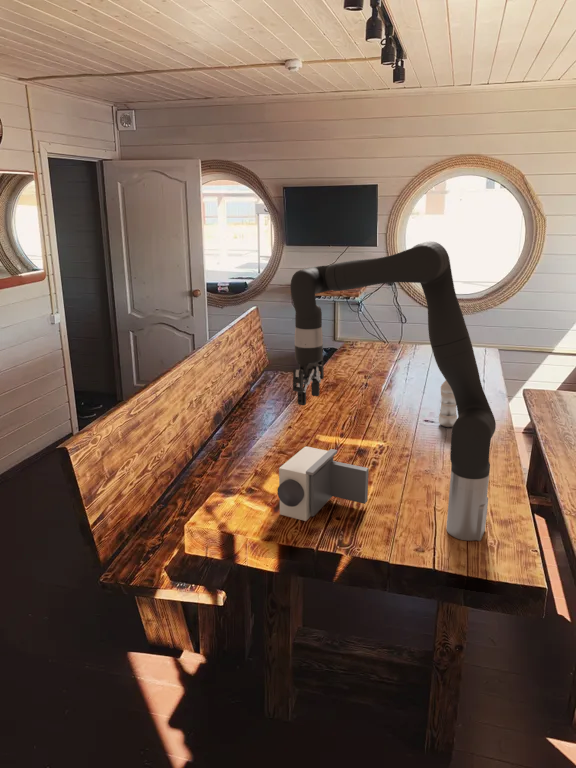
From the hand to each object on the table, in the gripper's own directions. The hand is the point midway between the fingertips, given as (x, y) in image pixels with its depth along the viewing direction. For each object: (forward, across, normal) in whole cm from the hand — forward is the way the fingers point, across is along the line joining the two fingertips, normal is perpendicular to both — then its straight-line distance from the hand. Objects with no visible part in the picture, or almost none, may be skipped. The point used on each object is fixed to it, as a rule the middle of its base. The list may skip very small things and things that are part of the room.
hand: (308, 400), depth 169 cm
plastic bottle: (+29, +71, -22) cm, 80 cm away
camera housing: (+29, -7, -3) cm, 30 cm away
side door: (+28, -6, -12) cm, 31 cm away
